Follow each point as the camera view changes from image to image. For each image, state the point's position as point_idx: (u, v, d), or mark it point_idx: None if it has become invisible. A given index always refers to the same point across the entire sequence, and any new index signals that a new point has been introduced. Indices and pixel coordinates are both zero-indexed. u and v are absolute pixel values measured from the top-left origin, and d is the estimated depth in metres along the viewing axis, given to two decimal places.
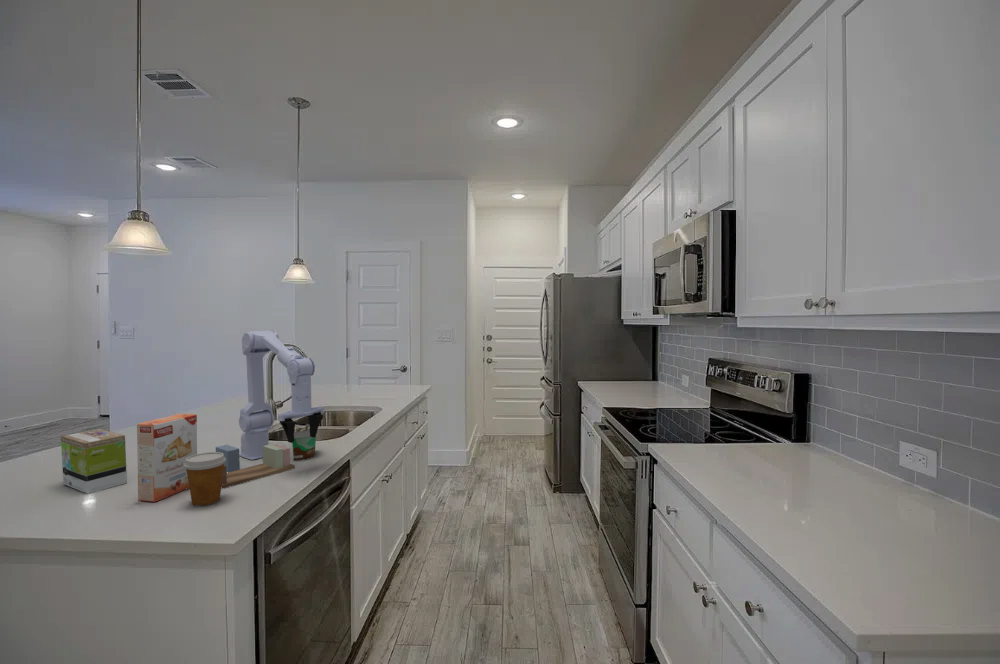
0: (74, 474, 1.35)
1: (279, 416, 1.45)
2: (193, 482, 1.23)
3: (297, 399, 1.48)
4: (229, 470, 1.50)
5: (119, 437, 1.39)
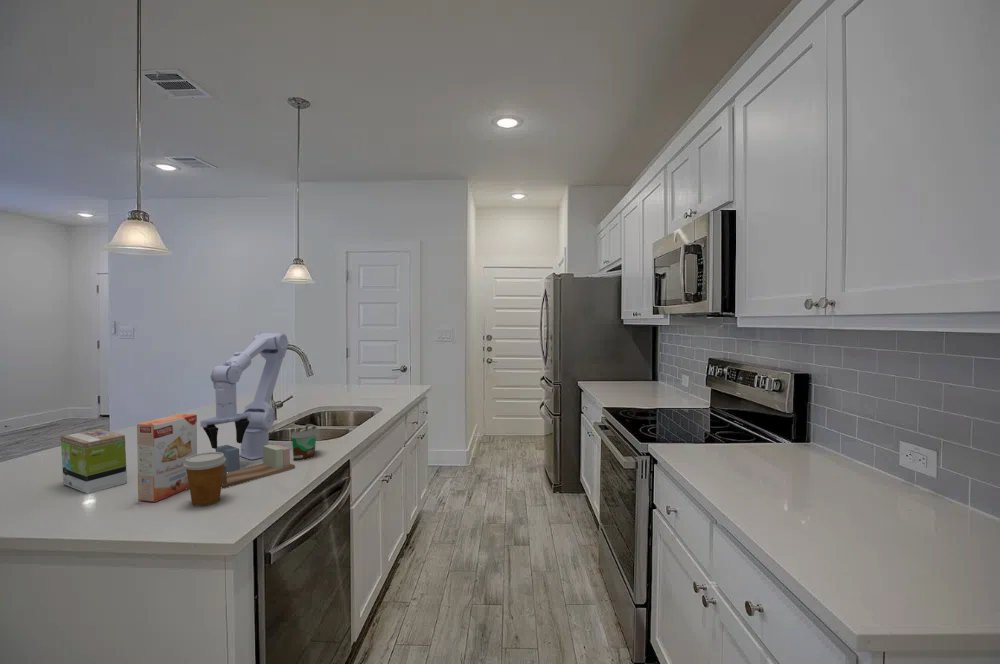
0: (74, 474, 1.35)
1: (201, 422, 1.47)
2: (193, 482, 1.23)
3: (220, 405, 1.50)
4: (229, 470, 1.50)
5: (119, 437, 1.39)
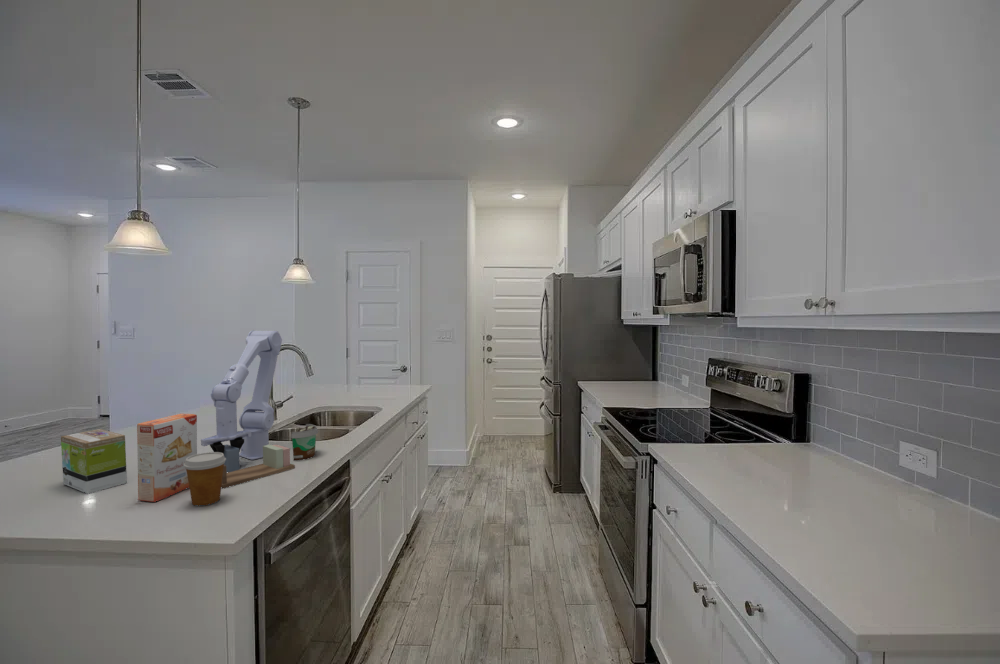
0: (74, 474, 1.35)
1: (202, 441, 1.47)
2: (193, 482, 1.23)
3: (221, 424, 1.50)
4: (229, 470, 1.50)
5: (119, 437, 1.39)
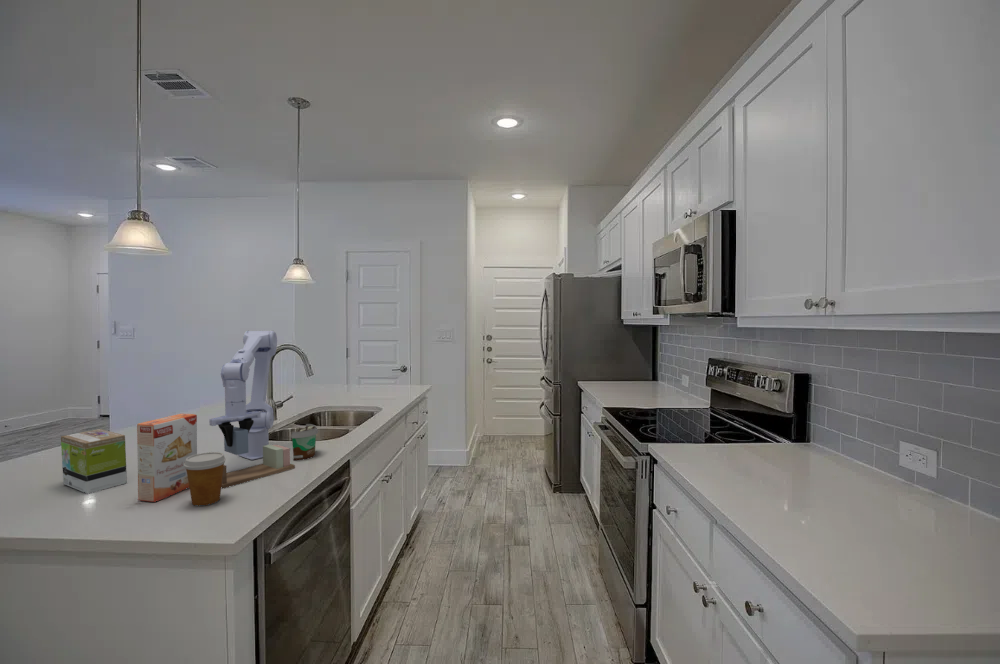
0: (74, 474, 1.35)
1: (210, 421, 1.43)
2: (193, 482, 1.23)
3: (230, 403, 1.46)
4: (238, 452, 1.46)
5: (119, 437, 1.39)
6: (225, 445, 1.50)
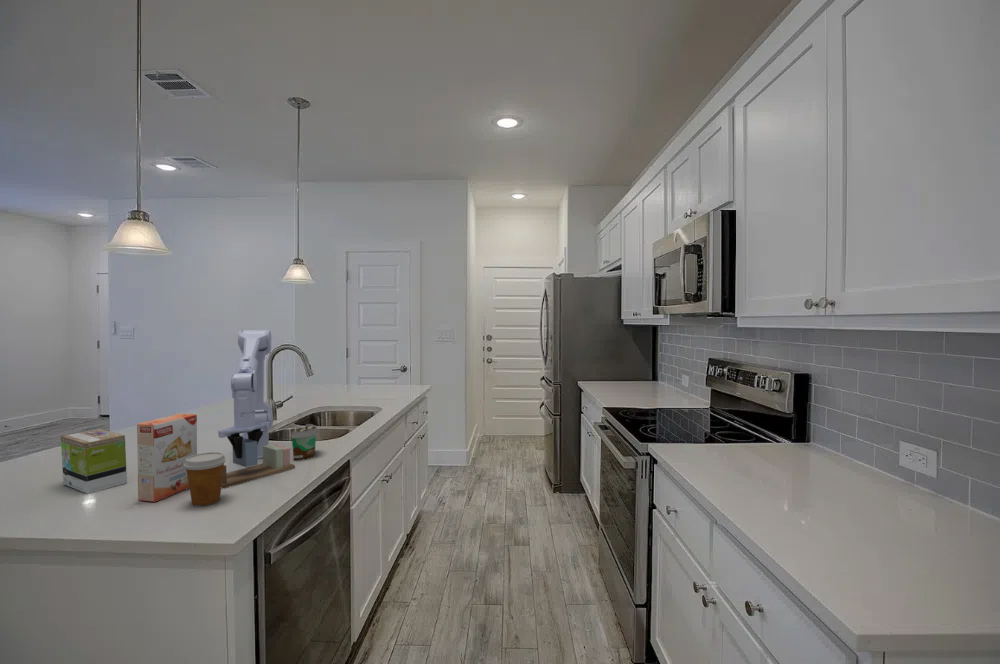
0: (74, 474, 1.35)
1: (219, 432, 1.40)
2: (193, 482, 1.23)
3: (239, 415, 1.43)
4: (247, 464, 1.43)
5: (119, 437, 1.39)
6: (234, 456, 1.47)
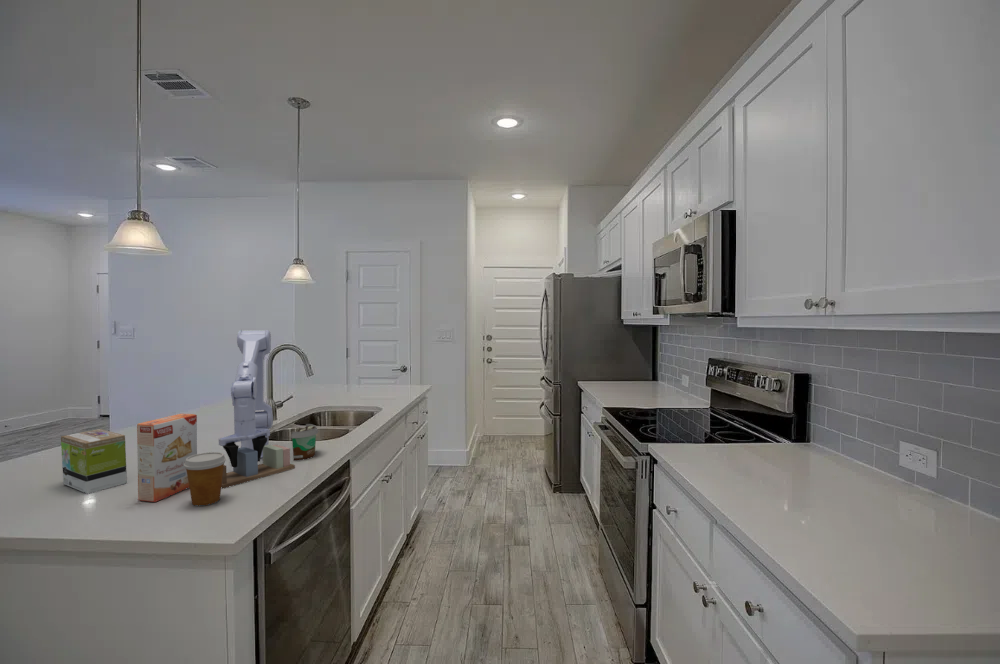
0: (74, 474, 1.35)
1: (219, 440, 1.40)
2: (193, 482, 1.23)
3: (239, 422, 1.43)
4: (247, 474, 1.43)
5: (119, 437, 1.39)
6: None
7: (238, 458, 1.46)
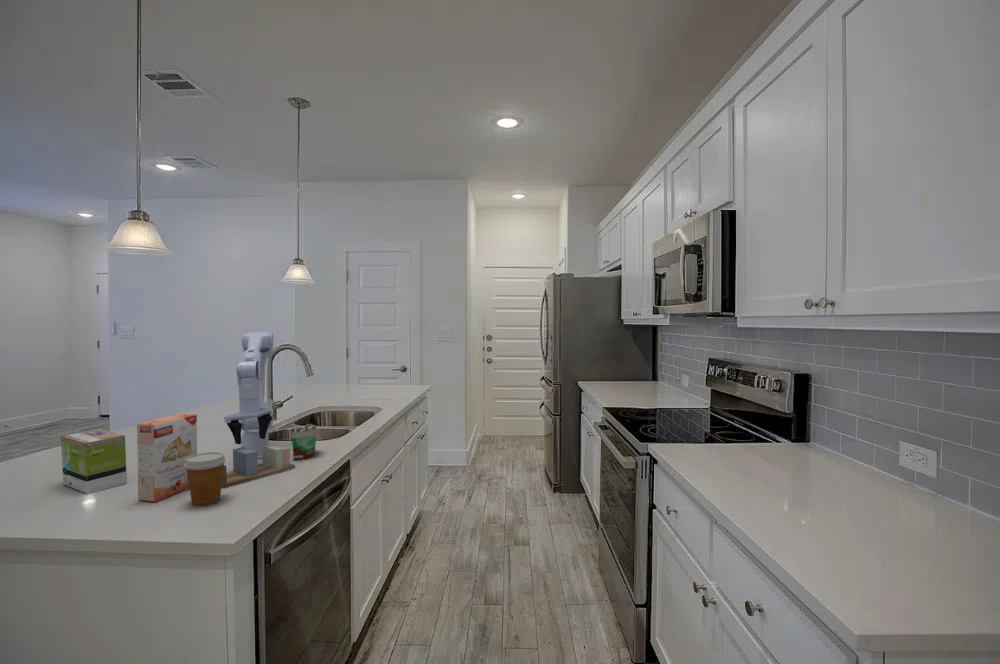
0: (74, 474, 1.35)
1: (225, 418, 1.46)
2: (193, 482, 1.23)
3: (244, 401, 1.49)
4: (247, 474, 1.43)
5: (119, 437, 1.39)
6: (234, 466, 1.47)
7: (238, 458, 1.46)
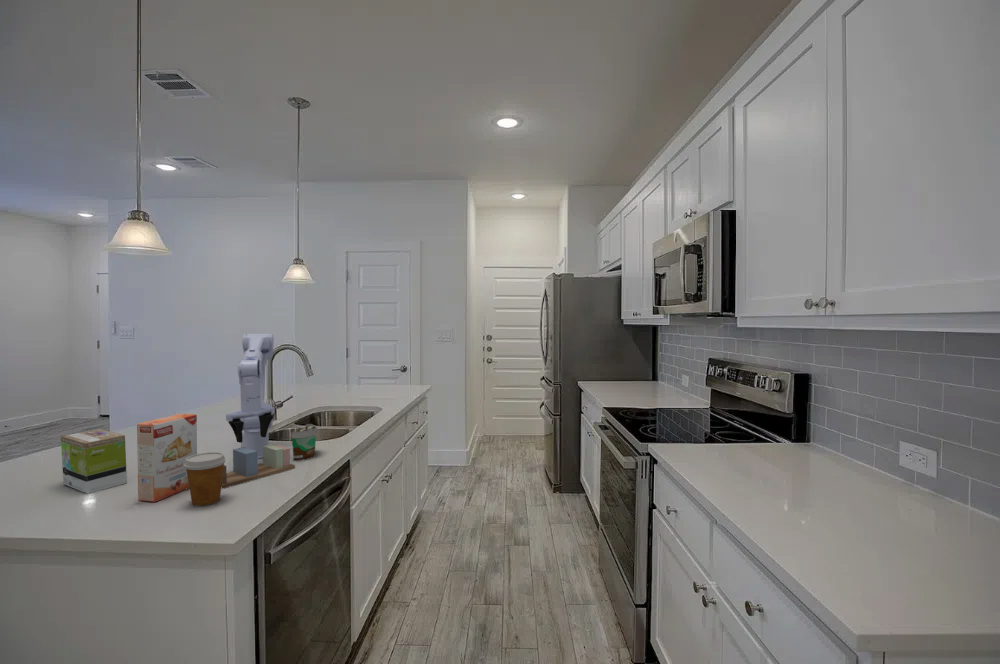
0: (74, 474, 1.35)
1: (227, 416, 1.48)
2: (193, 482, 1.23)
3: (245, 399, 1.51)
4: (247, 474, 1.43)
5: (119, 437, 1.39)
6: (234, 466, 1.47)
7: (238, 458, 1.46)
